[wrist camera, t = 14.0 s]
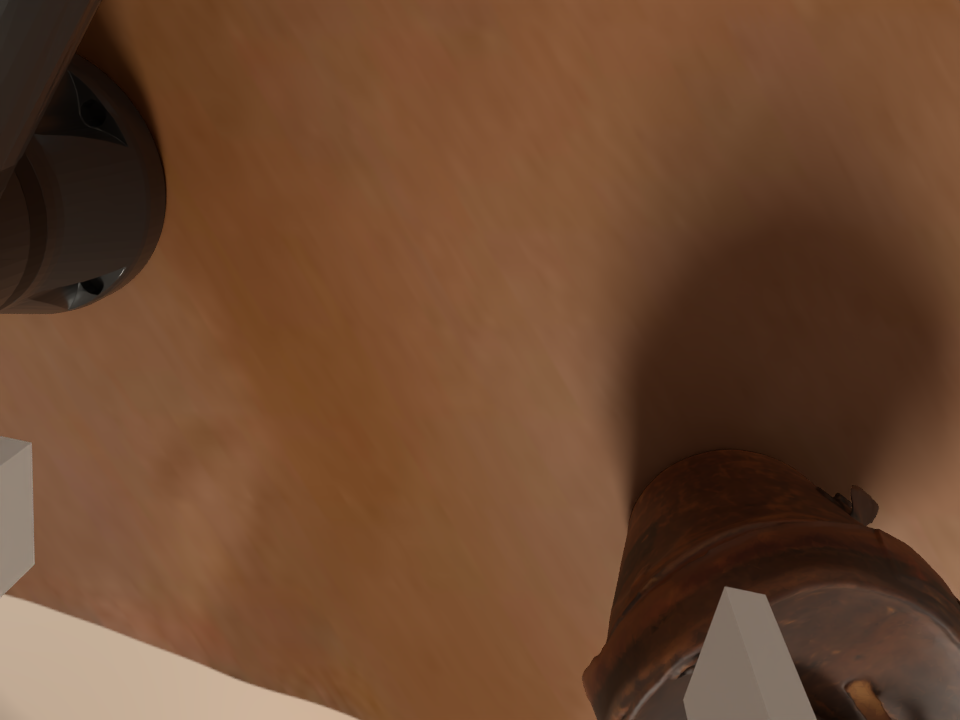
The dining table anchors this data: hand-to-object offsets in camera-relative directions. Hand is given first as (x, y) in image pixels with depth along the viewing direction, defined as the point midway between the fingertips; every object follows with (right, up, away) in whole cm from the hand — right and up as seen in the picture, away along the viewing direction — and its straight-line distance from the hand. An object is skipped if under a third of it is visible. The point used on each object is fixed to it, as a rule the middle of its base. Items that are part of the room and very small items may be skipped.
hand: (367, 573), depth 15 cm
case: (+18, -7, +35) cm, 41 cm away
